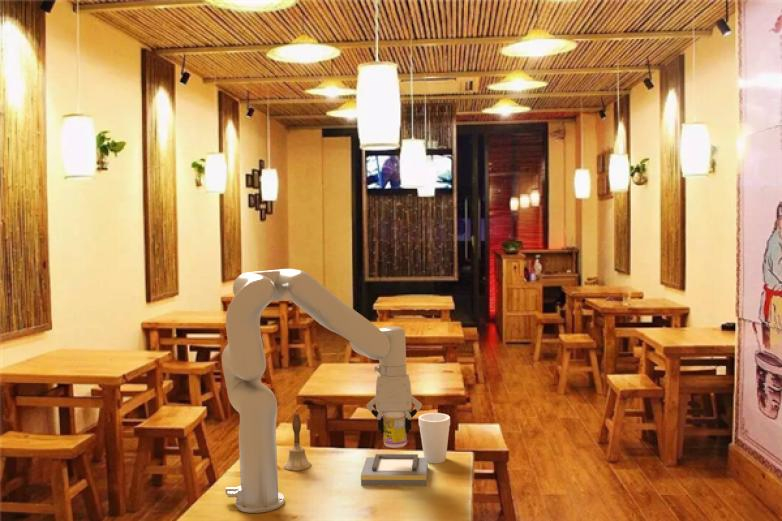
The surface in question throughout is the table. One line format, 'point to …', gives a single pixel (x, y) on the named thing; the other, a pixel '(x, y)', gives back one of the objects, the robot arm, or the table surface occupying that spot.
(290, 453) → the hand bell
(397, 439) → the supplement bottle
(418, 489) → the table surface
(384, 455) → the bay rails
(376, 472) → the loading dock
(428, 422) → the foam cup
